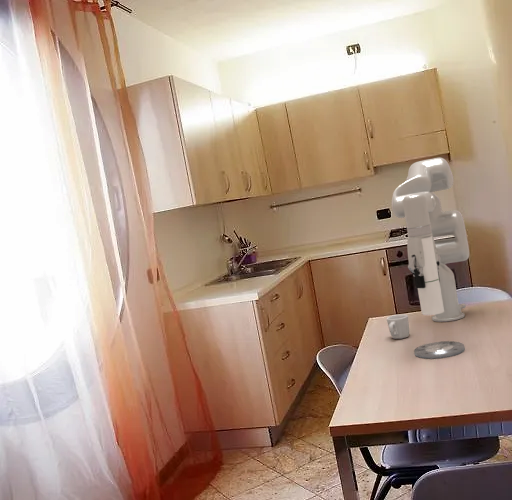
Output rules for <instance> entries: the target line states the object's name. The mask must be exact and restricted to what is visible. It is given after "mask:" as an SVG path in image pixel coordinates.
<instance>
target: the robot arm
mask: <svg viewBox="0 0 512 500" xmlns="http://www.w3.org/2000/svg"><path fill="white" fill-rule="evenodd" d="M453 186H454V175H453V172H452V168H451V167H450V165H449V162H448V161H447V160H446V159H445V158H443V157H434V158H430V159H424V160H420V161H416V162H413V163H412V164H411V165H410V167H409V168H408V171H407V177H406V179H405V181H404V182H402V183H401V184H399V185H398V186H397V187H395V190H393V192H392V198H391V212H392V213H393V215H394V216H395V217H396V218H399V219H400V218H401V219H402V218H404V219H405V220H404V221H405V224H406V231H407V237H408V238H407V242H406V243H407V245H406V246H407V247H406V248H407V249H406V250H407V258H408V259H407V260H408V265H407V268H408V270H409V271H410V273H411V274H412V276H413V277H414V280H415V286H416V289H418V288H425V287H426V286H425V280H424V276H422V273H423V267H424V266H425V260H424V251H423V245H422V241H421V239H422V238H426V237H429V236H432V241H433V247H434V253H435V259H436V265H437V271H438V277H439V283H440V289H441V295H442V301H443V307H444V312H443V313H440V314H436V315H432V316H431V320H432V321H433V322H437V323H438V322H439V323H440V322H441V323H442V322H445V323H446V322H452V321H457V320H461V319H464V317H465V313H464V312H462V310H464V309H465V308H466V307H467V306H466V304H465V303H463V302H462V303H461V304H460V303H459V299H458V298H459V297H458V291H457V287H456V286H457V285H456V279H455V274H454V272H453V270H452V269H451V268H450V267H448V266H447V264H450V263H452V264H453V263H459V262H464V261H467V260H468V259H469V257H470V249H469V248H470V247H469V242H468V235H467V231H466V230H467V229H466V224H465V219H464V216H463V214H462V213H461V212H460V211H459V210H456V209H454V210H446V211H443V210H442V203H441V199H440V197H439V196H438V195H437V194H436V193H435V192H439V191H445V190H446V191H447V190H450V189H451V188H452V187H453ZM445 236H446V237H447V236H453V237H452V238H444V239H438V240H437V239H436V240H435V239H434V238H439V237H445ZM416 261H417V263H418V264H419V266H416ZM417 269H419V271H418V270H417Z"/></svg>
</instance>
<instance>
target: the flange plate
mask: <svg viewBox="0 0 512 500" xmlns="http://www.w3.org/2000/svg"><path fill="white" fill-rule="evenodd" d="M465 349H466V348H465V344H464V343H463V342H459V341H450V340H445V341H444V340H443V341H435V342H429V343H424V344H422V345H419V346H418V347H416V348H415V349H414V351H413V352H414V356H415V357H416V358H419V359H425V360H434V359H435V360H436V359H437V360H439V359H446V358H450V357H455V356H458V355H460V354H462V353H464V352H465V351H466V350H465Z"/></svg>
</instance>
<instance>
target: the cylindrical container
mask: <svg viewBox="0 0 512 500" xmlns="http://www.w3.org/2000/svg"><path fill="white" fill-rule="evenodd" d="M421 241H422V245H423V251H424V260H425V266H424V267H423V273H422V276H424V280H425V286H426V287H425V288H417V293H418V299H419V304H420V310H421V315H423V316H434V315H436V314H440V313H443V312H444V307H443V301H442V295H441V289H440V283H439V277H438V271H437V265H436V259H435V253H434V247H433V241H432V236H429V237H426V238H422V239H421ZM416 266H419V264H418V263H417V261H416ZM417 270H418V271H419V269H417Z"/></svg>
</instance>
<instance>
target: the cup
mask: <svg viewBox="0 0 512 500" xmlns="http://www.w3.org/2000/svg"><path fill="white" fill-rule="evenodd" d="M386 323H387V326H388V329H389V334H390V336H391V338H392V339H395V340H401V339H406V338H408V337H409V335H410V328H409V326H410V324H409V316H408V314H405V313H403V314H402V313H401V314H393V315H390V316H387V317H386Z"/></svg>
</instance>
